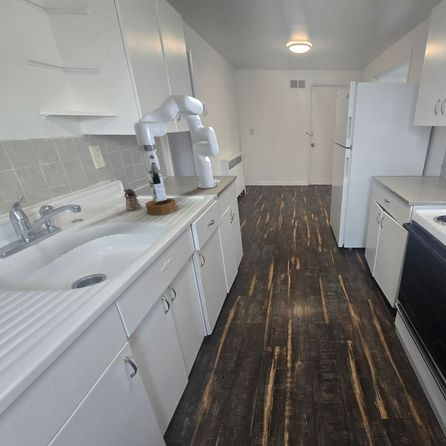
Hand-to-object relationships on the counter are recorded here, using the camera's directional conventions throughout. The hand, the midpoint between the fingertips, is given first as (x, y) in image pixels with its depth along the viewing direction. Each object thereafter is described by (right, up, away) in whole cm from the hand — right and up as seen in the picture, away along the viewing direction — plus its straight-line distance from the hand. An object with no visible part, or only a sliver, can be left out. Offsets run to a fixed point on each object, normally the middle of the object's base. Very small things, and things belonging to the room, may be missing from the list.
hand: (156, 182), depth 137 cm
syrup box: (0, -9, +4) cm, 10 cm away
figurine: (-18, -14, +10) cm, 25 cm away
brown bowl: (0, -15, +6) cm, 16 cm away
